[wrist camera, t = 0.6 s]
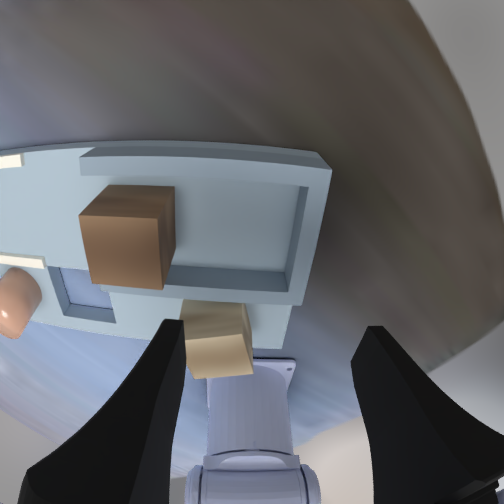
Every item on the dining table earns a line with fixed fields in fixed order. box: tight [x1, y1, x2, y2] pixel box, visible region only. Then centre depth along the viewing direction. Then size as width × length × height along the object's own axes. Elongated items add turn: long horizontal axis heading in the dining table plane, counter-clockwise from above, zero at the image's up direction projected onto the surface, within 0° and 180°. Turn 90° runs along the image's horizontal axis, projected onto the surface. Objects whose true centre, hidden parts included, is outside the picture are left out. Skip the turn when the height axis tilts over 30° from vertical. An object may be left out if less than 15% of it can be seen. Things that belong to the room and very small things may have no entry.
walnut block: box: [78, 185, 176, 290], centre depth 16 cm, size 4×4×4 cm
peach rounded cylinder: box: [0, 267, 42, 339], centre depth 18 cm, size 4×4×4 cm
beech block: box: [179, 299, 254, 379], centre depth 20 cm, size 4×4×4 cm
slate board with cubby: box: [0, 140, 332, 349], centre depth 19 cm, size 15×24×4 cm, turn 84°
